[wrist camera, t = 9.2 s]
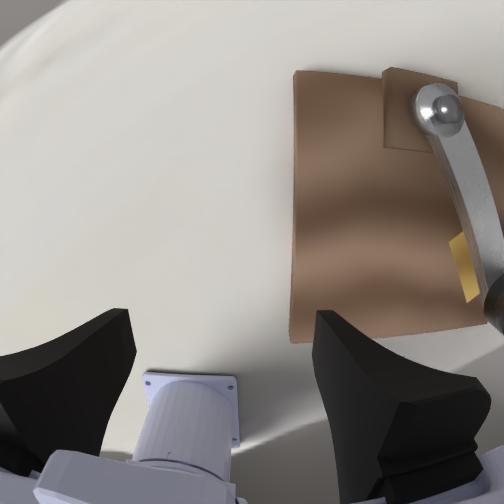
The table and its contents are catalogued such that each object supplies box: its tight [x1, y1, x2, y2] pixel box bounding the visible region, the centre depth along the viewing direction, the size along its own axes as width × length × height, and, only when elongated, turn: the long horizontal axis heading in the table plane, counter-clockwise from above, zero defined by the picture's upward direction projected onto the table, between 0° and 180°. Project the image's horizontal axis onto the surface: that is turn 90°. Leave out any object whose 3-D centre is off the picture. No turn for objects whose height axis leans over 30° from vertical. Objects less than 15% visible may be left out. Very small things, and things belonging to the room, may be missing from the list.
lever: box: [409, 83, 504, 335], centre depth 15 cm, size 18×4×6 cm, turn 32°
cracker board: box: [289, 67, 504, 343], centre depth 19 cm, size 18×18×3 cm
